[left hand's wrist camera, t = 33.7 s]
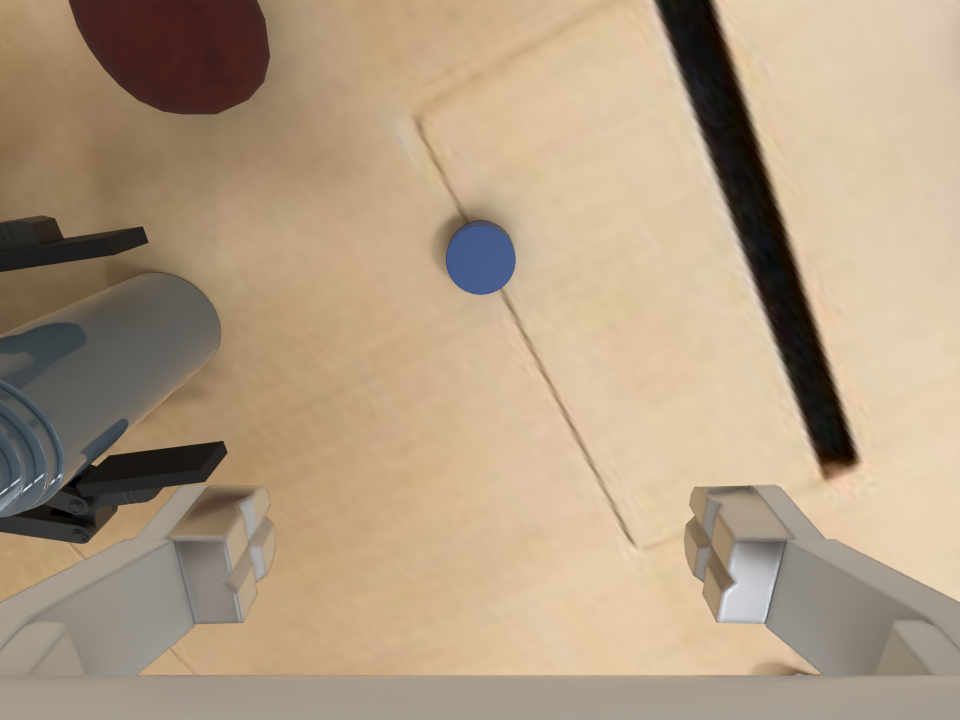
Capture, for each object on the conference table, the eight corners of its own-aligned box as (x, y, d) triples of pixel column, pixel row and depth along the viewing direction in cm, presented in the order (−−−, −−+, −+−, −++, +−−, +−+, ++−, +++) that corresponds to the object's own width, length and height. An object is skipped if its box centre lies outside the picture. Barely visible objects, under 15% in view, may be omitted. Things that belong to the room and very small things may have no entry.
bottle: (90, 314, 33) (-324, 513, 16) (161, 249, 31) (-214, 393, 14) (173, 391, 35) (-118, 640, 18) (243, 333, 33) (-2, 546, 16)
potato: (169, -98, 25) (59, -177, 19) (318, 19, 27) (266, -15, 20) (107, 51, 27) (-9, 28, 21) (249, 150, 29) (182, 157, 23)
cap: (435, 264, 32) (433, 272, 30) (469, 207, 30) (469, 211, 29) (491, 298, 32) (491, 306, 31) (526, 243, 31) (529, 249, 30)
